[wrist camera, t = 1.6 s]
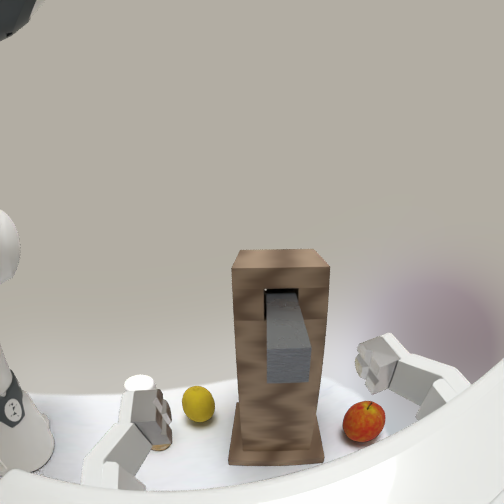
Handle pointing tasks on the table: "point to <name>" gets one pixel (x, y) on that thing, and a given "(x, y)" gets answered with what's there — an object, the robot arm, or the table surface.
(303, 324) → the shaft
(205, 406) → the lemon
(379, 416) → the fruit
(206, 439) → the table surface
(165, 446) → the sprinkles bottle
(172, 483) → the table surface
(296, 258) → the block
